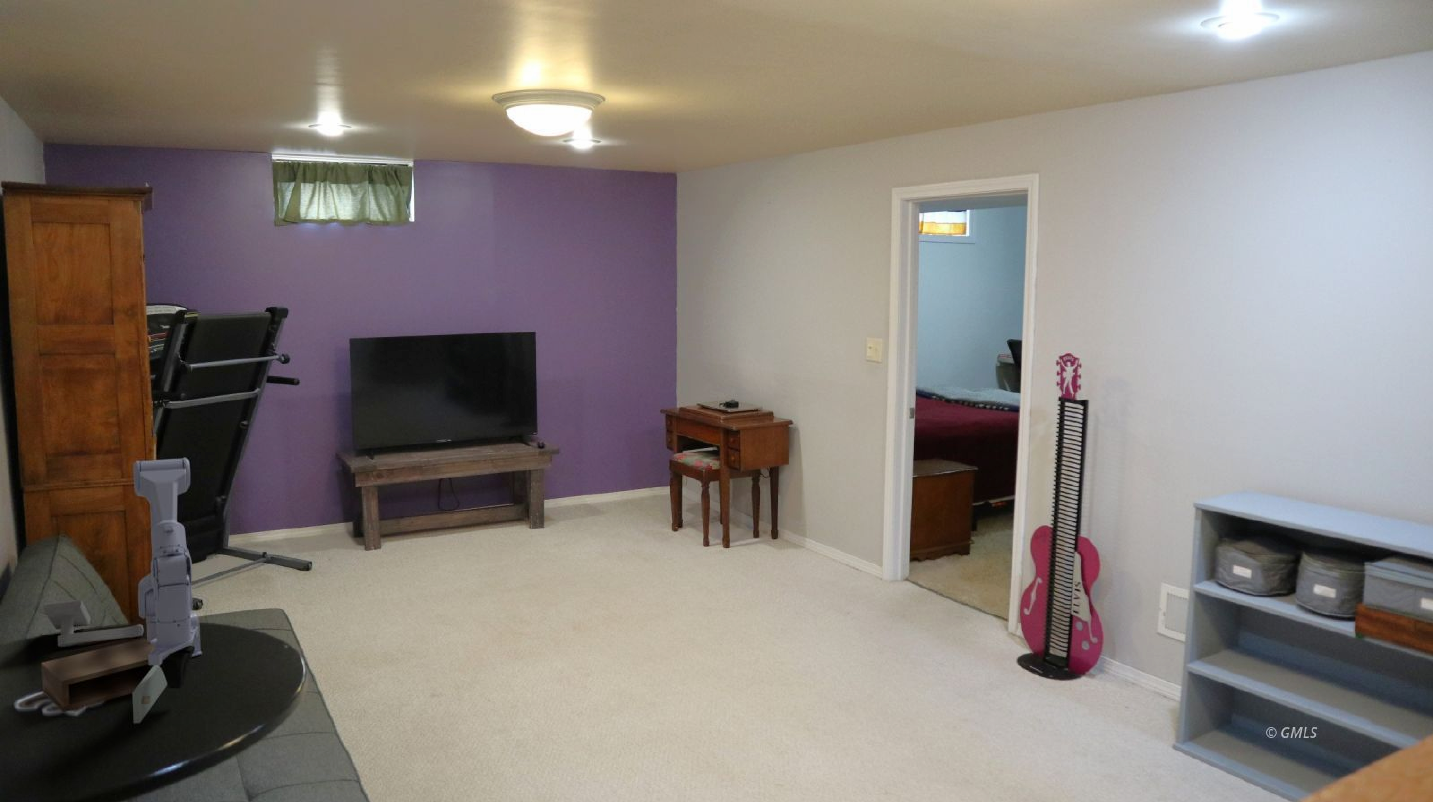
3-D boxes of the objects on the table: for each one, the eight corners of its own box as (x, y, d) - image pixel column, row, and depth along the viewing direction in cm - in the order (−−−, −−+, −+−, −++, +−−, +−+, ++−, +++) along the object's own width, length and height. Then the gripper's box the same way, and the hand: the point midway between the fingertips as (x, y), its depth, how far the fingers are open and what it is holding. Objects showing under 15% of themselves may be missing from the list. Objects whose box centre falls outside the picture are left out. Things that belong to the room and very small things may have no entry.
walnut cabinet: (145, 665, 199) (144, 638, 198) (168, 683, 191) (167, 654, 191) (43, 692, 185) (41, 662, 185) (63, 711, 178) (61, 681, 177)
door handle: (55, 658, 216) (43, 642, 199) (54, 623, 218) (42, 604, 202) (146, 644, 224) (141, 628, 208) (144, 610, 227) (140, 591, 211)
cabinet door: (162, 684, 190) (161, 656, 190) (173, 683, 191) (172, 655, 190) (133, 723, 174) (132, 692, 173) (146, 722, 174) (144, 691, 174)
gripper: (171, 604, 187) (173, 670, 189) (129, 631, 173) (133, 703, 175) (208, 604, 188) (210, 671, 189) (170, 632, 173) (172, 703, 175)
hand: (175, 686), depth 182 cm, fingers closed
